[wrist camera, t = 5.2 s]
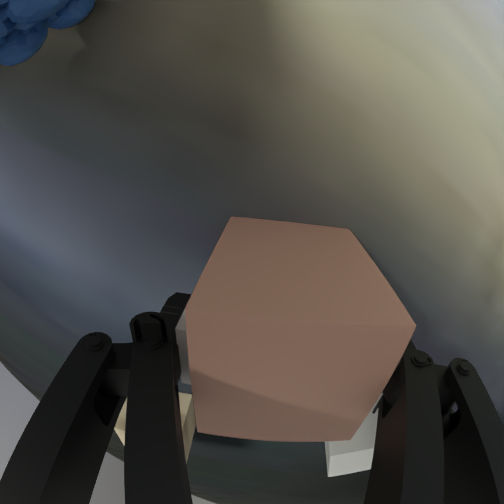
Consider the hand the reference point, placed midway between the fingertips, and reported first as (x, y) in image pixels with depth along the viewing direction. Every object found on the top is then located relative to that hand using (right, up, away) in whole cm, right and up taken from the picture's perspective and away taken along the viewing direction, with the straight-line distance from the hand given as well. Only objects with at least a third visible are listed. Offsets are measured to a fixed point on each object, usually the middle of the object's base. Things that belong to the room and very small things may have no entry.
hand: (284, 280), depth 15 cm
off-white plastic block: (+7, -12, +5) cm, 15 cm away
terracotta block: (0, 0, 0) cm, 0 cm away
